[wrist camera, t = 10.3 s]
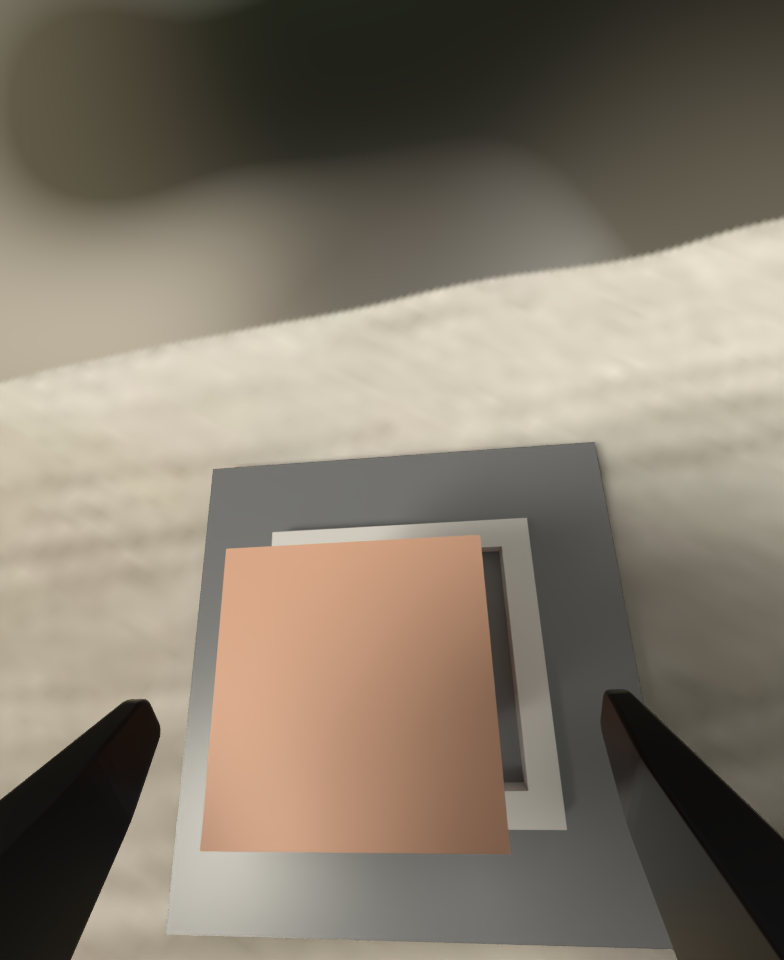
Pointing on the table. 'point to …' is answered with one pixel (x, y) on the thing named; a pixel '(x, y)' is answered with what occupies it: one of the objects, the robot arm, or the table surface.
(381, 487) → the dock board
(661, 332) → the table surface
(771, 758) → the table surface
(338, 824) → the terracotta block
